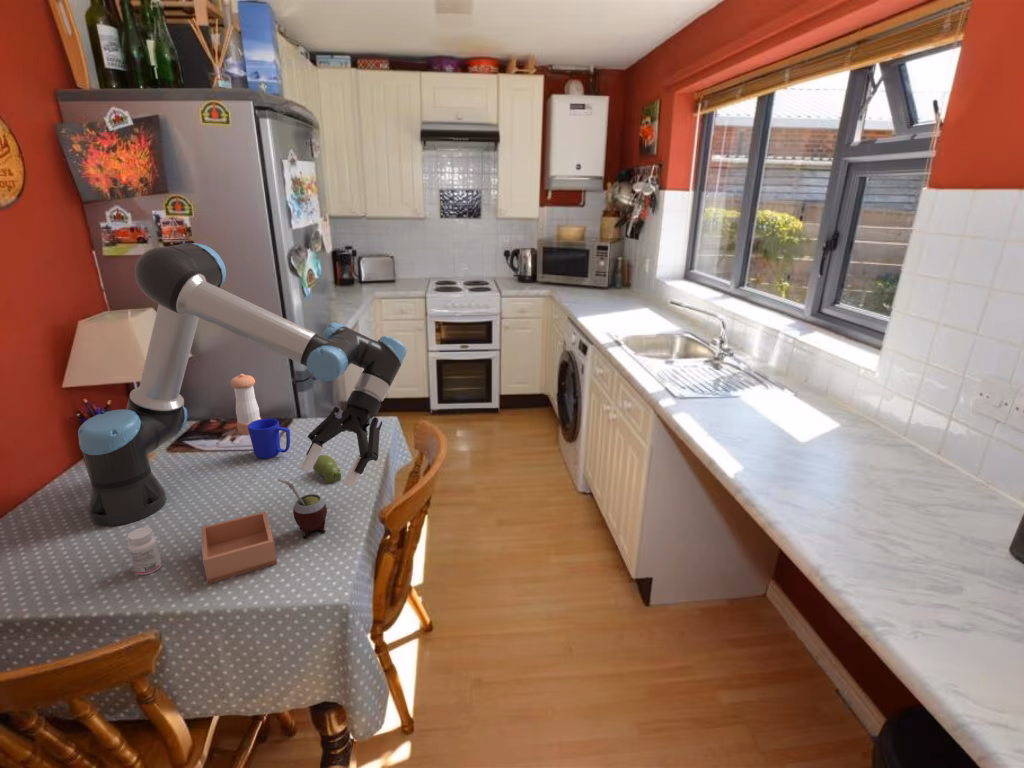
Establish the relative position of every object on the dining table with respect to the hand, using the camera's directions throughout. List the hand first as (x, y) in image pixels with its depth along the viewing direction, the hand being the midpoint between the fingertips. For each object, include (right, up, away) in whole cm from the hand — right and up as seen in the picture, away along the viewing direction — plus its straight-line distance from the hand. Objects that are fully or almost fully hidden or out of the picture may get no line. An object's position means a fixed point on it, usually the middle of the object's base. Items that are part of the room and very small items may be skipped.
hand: (325, 478), depth 120 cm
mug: (-28, 0, +35) cm, 44 cm away
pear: (-8, -4, +24) cm, 26 cm away
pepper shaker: (-43, +6, +52) cm, 67 cm away
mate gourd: (-4, -12, 0) cm, 13 cm away
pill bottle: (-32, -16, -12) cm, 38 cm away
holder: (-15, -15, -8) cm, 23 cm away
